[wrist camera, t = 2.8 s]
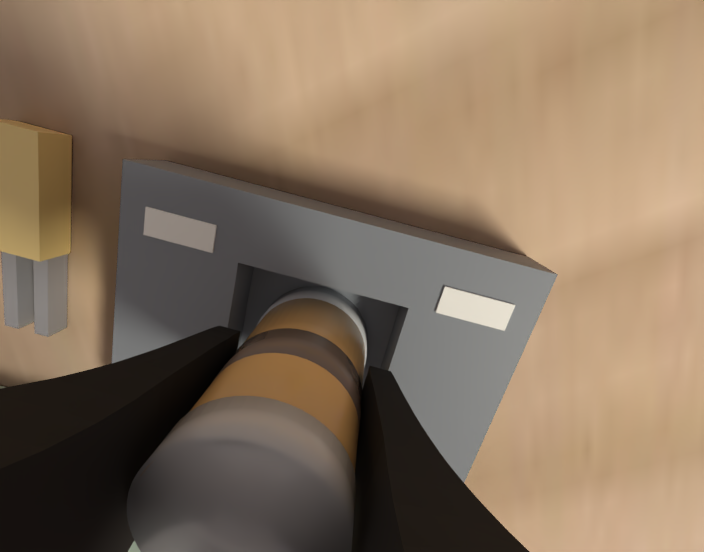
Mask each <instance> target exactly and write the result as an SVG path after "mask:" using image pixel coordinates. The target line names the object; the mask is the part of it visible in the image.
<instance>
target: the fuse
mask: <svg viewBox="0 0 704 552" xmlns="http://www.w3.org/2000/svg"><path fill="white" fill-rule="evenodd" d="M367 345H368V332H367V327H366V324H365V321H364V319H363V317H362V315H361V313H360V312H359V310H358V309H357V307H356V306H355V305H354V304H353V303H352V302H351V301H350V300H348V299H347V298H346V297H344V296H343V295H341V294H340V293H338V292H335V291H333V290H330V289H327V288H323V287H315V286H307V287H300V288H296V289H293V290H290V291H288V292H286V293H284V294H283V295H281V296H280V297H279V298H277V299H276V300H275V301H274V302H273V304H272V305H271V306H270V307H269V308H268V310H267V311H266V312H265V313H264V315H263V316H262V317H261V319H260V320H259V322H258V323H257V326H256V327H255V329H254V330H253V331H252V332H251V334H250V335H249V336H248V338H247V339H246V340H245V341H244V343H243V344H242V345H241V346H240V347H239V348H238V349H237V350H236V352H235V353H234V354H233V355H232V357H231V358H230V359H229V360H228V362H227V363H226V364H225V365H224V367H223V368H222V369H221V371H220V372H219V373H218V374H217V376H216V377H215V378H214V380H213V381H212V383H211V384H210V386H209V387H208V388H207V390H206V391H205V392H204V394H203V395H202V396H201V397H200V399H199V400H198V401H197V402H196V404H195V405H194V406H193V408H192V409H191V410H190V411H189V412H188V413H187V414H186V415H185V416H184V417H182V418H181V419H180V420H179V421H178V423H177V424H176V425H175V426H174V427H173V428H172V430H171V431H170V432H169V433H168V435H167V436H166V437H165V438H164V440H163V441H162V442H161V444H160V445H159V446H158V447H157V449H156V450H155V451H154V452H153V454H152V455H151V456H150V457H149V459H148V460H147V461H146V462H145V464H144V465H143V466H142V467H141V469H140V470H139V471H138V473H137V474H136V476H135V478H134V479H133V481H132V484H131V486H130V489H129V492H128V498H127V518H128V524H129V527H130V530H131V533H132V536H133V538H134V540H135V542H136V544H137V546H138V548H139V550H140V551H141V552H351V550H352V537H353V525H354V512H355V499H356V477H355V467H356V456H357V444H358V438H359V431H360V419H361V406H362V386H363V374H364V367H365V363H366V358H367Z"/></svg>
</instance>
